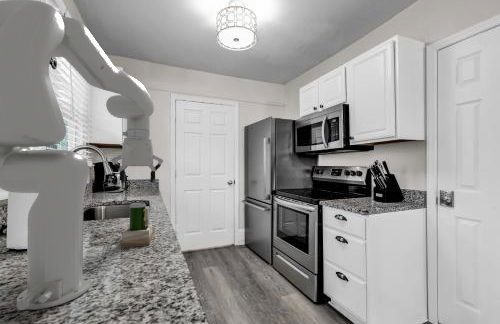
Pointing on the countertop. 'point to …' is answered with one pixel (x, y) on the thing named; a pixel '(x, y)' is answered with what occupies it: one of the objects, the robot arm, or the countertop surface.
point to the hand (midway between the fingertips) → (137, 182)
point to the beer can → (137, 216)
